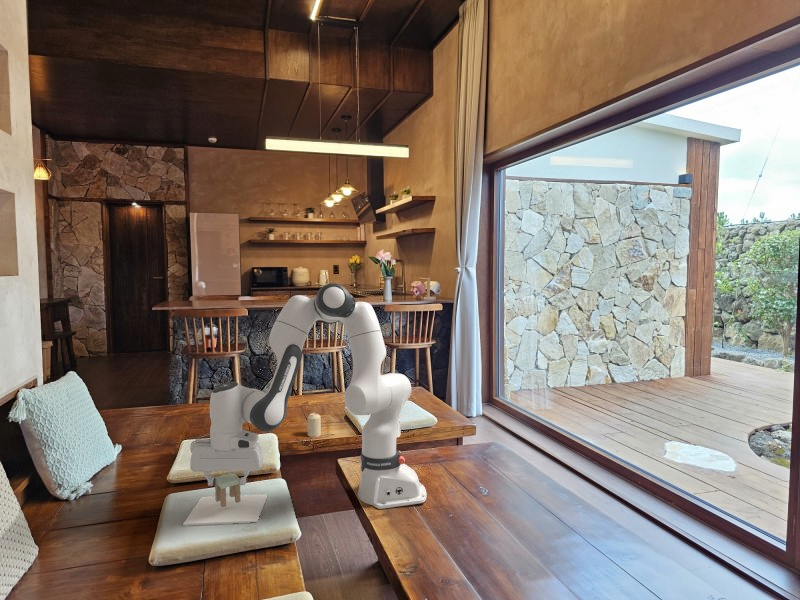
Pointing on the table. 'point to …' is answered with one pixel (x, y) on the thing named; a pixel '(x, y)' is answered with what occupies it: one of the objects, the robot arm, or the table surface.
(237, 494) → the wooden stool
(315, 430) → the candle
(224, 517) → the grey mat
